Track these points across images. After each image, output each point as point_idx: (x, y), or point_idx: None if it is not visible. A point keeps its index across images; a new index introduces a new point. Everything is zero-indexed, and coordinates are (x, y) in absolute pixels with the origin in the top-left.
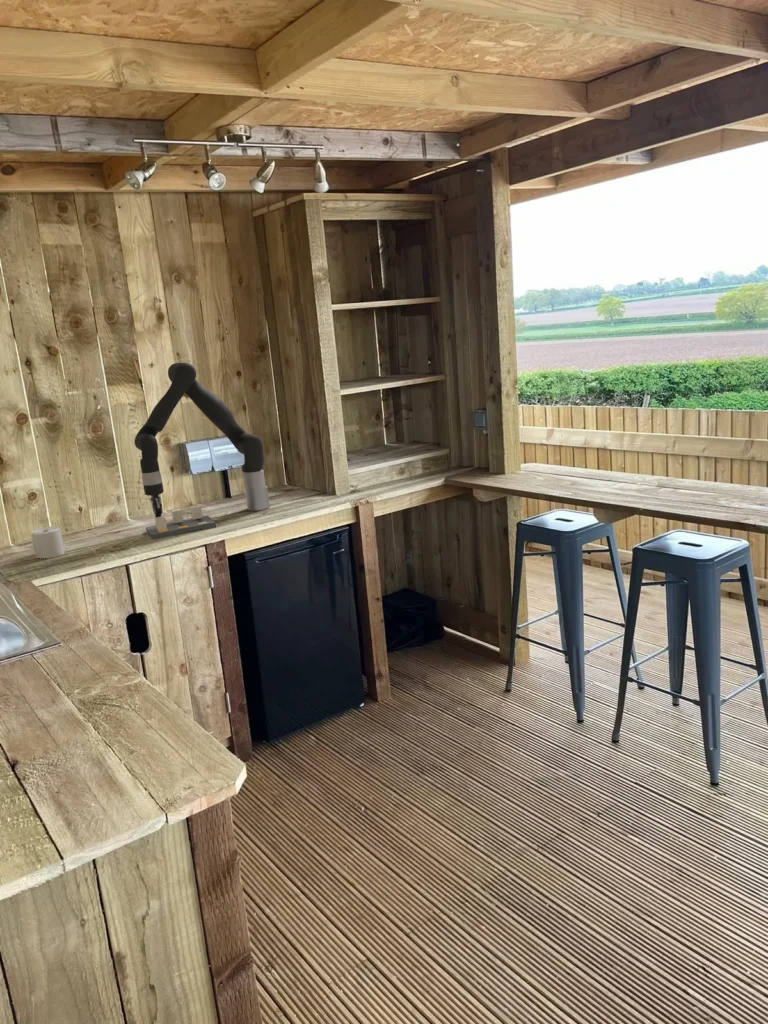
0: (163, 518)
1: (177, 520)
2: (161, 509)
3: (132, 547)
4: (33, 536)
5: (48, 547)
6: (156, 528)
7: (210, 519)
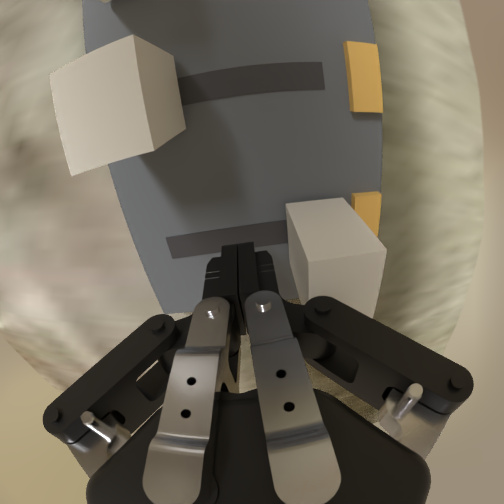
0: (381, 260)
1: (176, 102)
2: (401, 337)
3: (400, 326)
4: None
5: None
6: None
7: None
